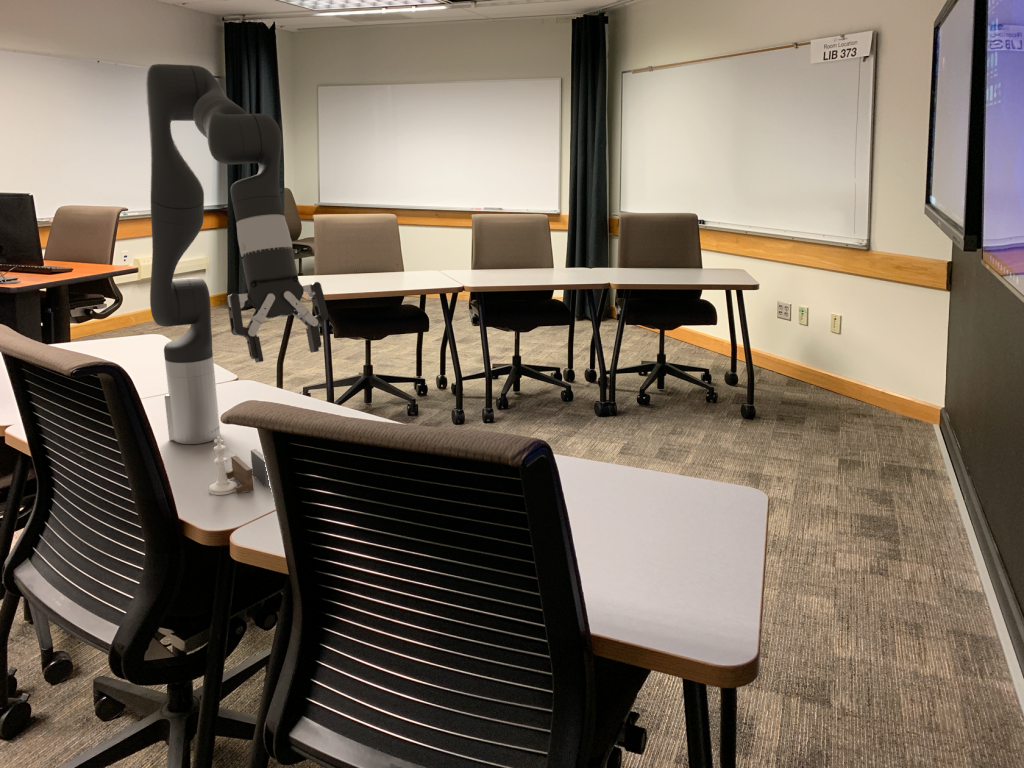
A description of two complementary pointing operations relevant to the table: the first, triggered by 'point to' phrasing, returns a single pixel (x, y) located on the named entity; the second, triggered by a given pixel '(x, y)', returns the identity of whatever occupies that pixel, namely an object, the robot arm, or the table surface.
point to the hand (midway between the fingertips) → (287, 356)
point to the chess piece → (221, 473)
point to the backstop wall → (259, 467)
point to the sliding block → (241, 475)
